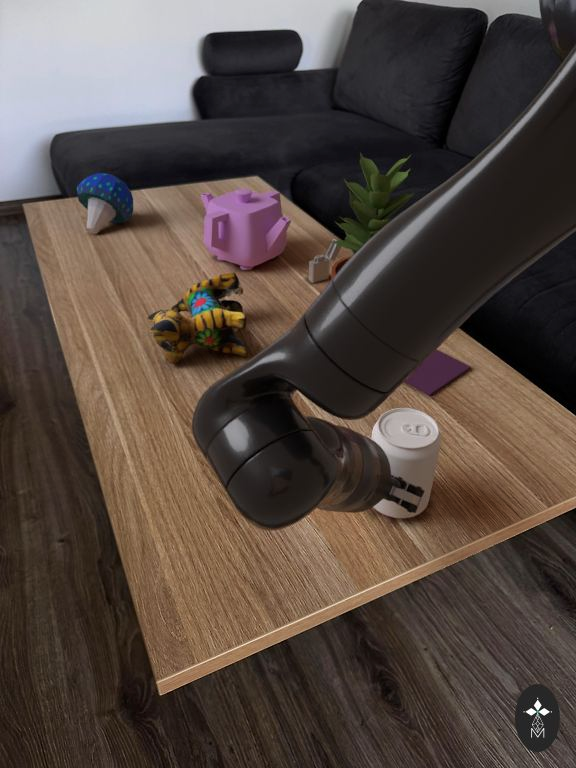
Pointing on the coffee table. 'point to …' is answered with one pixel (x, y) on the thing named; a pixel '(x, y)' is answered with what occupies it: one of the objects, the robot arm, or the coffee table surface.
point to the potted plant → (370, 206)
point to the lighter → (322, 264)
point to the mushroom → (105, 200)
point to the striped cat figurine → (202, 319)
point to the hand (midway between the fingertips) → (385, 482)
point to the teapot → (245, 226)
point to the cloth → (436, 372)
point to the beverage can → (408, 453)
